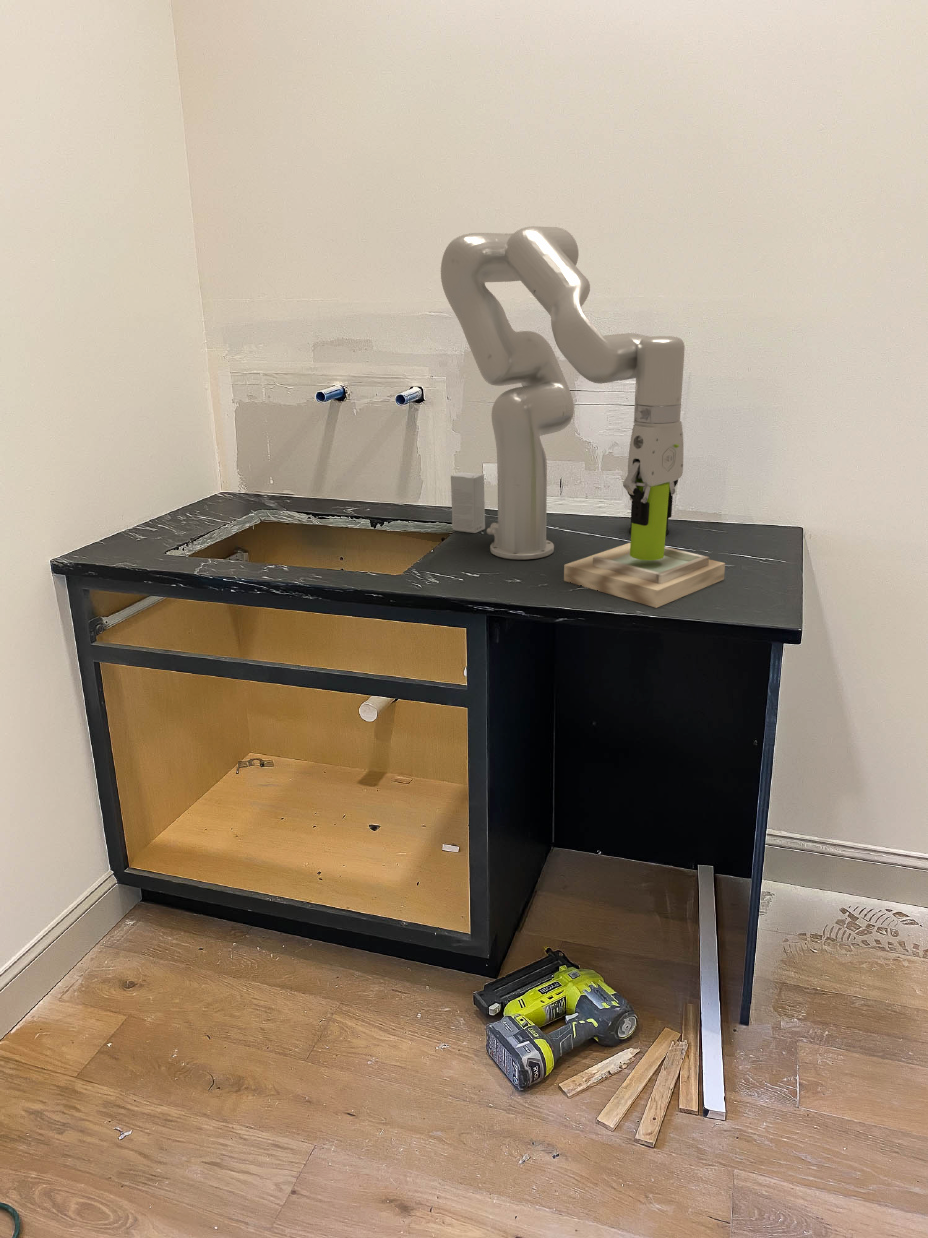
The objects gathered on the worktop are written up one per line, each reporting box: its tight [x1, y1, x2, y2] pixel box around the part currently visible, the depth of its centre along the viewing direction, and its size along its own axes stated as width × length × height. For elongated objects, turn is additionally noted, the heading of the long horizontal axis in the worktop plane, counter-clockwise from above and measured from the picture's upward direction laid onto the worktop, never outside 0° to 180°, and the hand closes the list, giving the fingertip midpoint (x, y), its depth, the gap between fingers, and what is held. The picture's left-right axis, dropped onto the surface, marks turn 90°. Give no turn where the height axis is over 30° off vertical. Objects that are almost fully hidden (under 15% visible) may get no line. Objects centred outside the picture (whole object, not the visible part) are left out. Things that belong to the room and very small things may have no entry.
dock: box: [563, 541, 726, 609], centre depth 159 cm, size 20×20×4 cm
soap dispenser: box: [629, 444, 679, 560], centre depth 154 cm, size 6×7×20 cm
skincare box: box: [450, 471, 486, 534], centre depth 192 cm, size 6×4×12 cm
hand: (651, 519), depth 156 cm, fingers closed on soap dispenser, 5 cm apart
